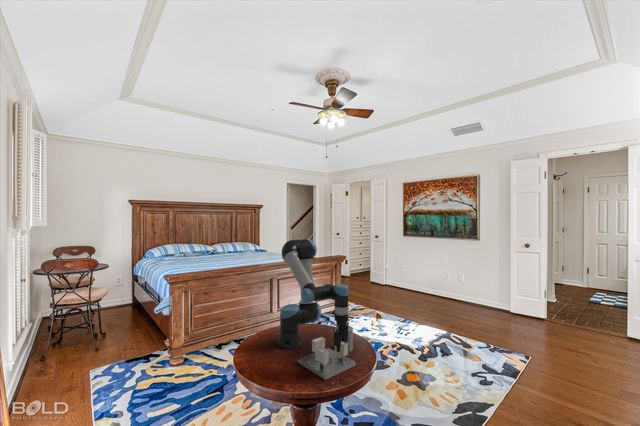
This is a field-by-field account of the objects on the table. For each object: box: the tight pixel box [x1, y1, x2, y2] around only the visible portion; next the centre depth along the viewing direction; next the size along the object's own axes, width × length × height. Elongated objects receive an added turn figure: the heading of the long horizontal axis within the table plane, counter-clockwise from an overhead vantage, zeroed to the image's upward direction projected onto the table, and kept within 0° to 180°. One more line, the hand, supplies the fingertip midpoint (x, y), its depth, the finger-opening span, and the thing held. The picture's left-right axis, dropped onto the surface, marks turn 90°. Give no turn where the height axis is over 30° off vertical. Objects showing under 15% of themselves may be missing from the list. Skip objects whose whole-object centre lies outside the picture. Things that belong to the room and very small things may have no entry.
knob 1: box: [314, 347, 329, 368], centre depth 158 cm, size 7×3×10 cm, turn 41°
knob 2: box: [334, 341, 349, 360], centre depth 167 cm, size 7×3×10 cm, turn 43°
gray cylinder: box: [346, 325, 354, 353], centre depth 185 cm, size 10×10×12 cm
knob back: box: [311, 336, 326, 353], centre depth 171 cm, size 7×3×10 cm, turn 130°
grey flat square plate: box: [297, 347, 357, 381], centre depth 166 cm, size 22×22×3 cm
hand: (341, 355), depth 167 cm, fingers closed on knob 2, 4 cm apart
